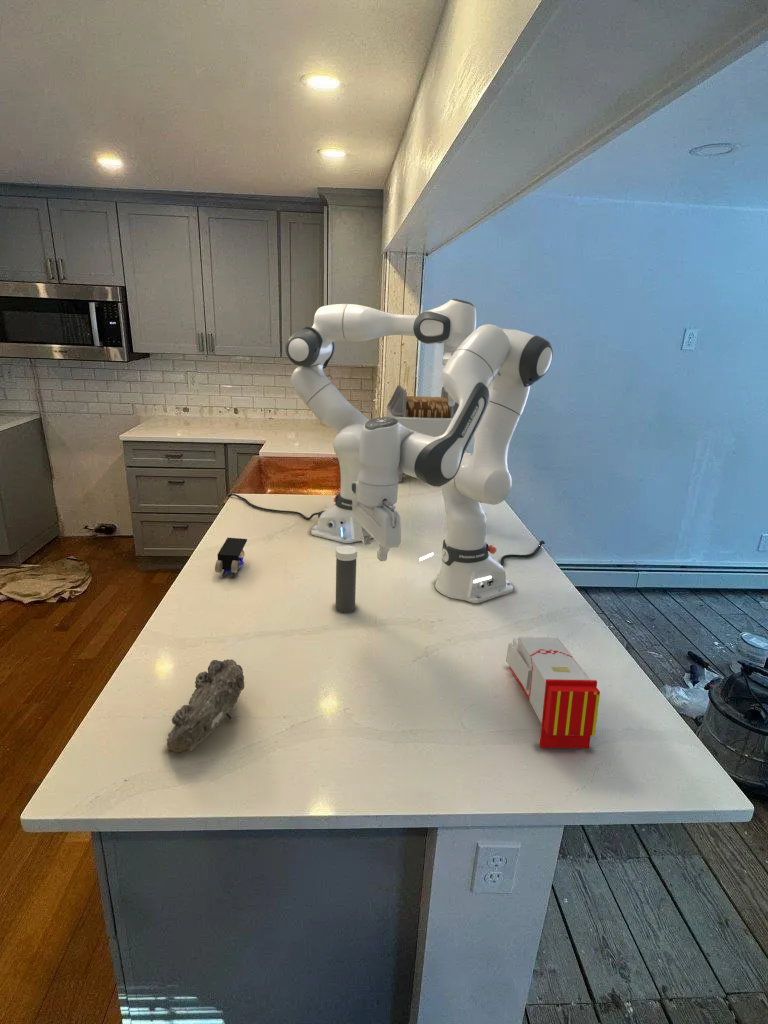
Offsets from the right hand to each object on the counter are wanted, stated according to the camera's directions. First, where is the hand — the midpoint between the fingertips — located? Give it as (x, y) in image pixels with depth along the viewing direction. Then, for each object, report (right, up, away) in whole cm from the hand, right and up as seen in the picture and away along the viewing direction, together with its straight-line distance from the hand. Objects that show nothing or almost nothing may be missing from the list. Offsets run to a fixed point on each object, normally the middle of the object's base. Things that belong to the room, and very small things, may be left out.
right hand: (373, 551), depth 128 cm
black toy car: (-43, -8, +40) cm, 59 cm away
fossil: (-30, -30, -20) cm, 47 cm away
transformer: (+20, +28, +147) cm, 151 cm away
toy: (+35, -30, -11) cm, 47 cm away
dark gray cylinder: (-8, -16, +22) cm, 28 cm away
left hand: (+24, +42, +46) cm, 67 cm away
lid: (-7, -1, +16) cm, 18 cm away
